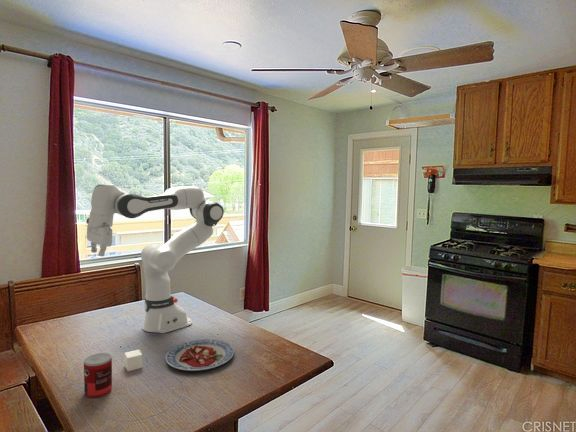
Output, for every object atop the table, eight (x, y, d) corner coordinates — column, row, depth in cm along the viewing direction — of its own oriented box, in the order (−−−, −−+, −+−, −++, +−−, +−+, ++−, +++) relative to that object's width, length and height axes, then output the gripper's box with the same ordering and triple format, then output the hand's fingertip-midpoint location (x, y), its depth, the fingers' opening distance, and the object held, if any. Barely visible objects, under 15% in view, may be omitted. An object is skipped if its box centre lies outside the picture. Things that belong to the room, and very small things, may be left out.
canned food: (91, 385, 114) (90, 353, 114) (116, 384, 115) (115, 352, 114) (79, 398, 107) (78, 364, 106) (106, 398, 108) (105, 363, 107)
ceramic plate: (150, 366, 128) (150, 359, 127) (193, 340, 152) (193, 333, 151) (209, 382, 118) (209, 373, 118) (245, 350, 142) (245, 343, 142)
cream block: (139, 362, 131) (138, 349, 130) (142, 367, 127) (142, 354, 126) (124, 365, 128) (124, 352, 127) (127, 371, 124) (127, 358, 123)
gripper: (118, 224, 140) (114, 258, 140) (100, 219, 154) (97, 250, 155) (101, 223, 136) (97, 258, 136) (85, 218, 150) (81, 250, 150)
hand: (97, 254), depth 145 cm, fingers open, 8 cm apart
